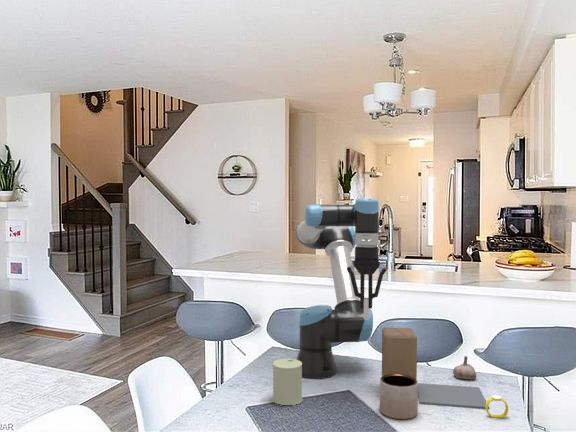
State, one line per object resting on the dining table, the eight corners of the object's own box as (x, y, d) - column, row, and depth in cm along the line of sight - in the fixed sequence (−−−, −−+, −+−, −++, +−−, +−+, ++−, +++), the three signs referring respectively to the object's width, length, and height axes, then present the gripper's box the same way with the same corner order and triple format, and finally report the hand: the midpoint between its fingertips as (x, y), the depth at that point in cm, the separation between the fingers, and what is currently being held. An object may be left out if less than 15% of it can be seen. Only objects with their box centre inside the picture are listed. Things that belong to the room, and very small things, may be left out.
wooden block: (412, 387, 162) (412, 327, 162) (416, 399, 152) (417, 335, 152) (381, 386, 163) (381, 326, 163) (384, 397, 153) (384, 334, 153)
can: (306, 396, 155) (306, 358, 154) (297, 407, 146) (297, 368, 146) (278, 392, 158) (278, 355, 157) (268, 403, 149) (268, 364, 149)
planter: (394, 423, 136) (394, 389, 135) (372, 408, 146) (372, 376, 145) (425, 416, 140) (425, 383, 140) (402, 402, 150) (402, 371, 150)
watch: (487, 419, 139) (486, 398, 139) (484, 415, 142) (483, 395, 141) (509, 419, 138) (508, 398, 138) (506, 415, 141) (505, 394, 141)
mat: (419, 403, 149) (419, 401, 149) (416, 384, 165) (416, 382, 165) (489, 409, 145) (489, 407, 145) (479, 389, 161) (479, 387, 161)
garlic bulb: (480, 380, 169) (480, 357, 169) (464, 383, 166) (464, 360, 166) (464, 373, 176) (465, 351, 176) (448, 376, 173) (448, 353, 173)
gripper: (345, 246, 156) (345, 320, 157) (387, 247, 154) (386, 322, 154) (347, 244, 163) (346, 314, 164) (387, 245, 161) (386, 316, 162)
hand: (366, 318), depth 159 cm, fingers closed
